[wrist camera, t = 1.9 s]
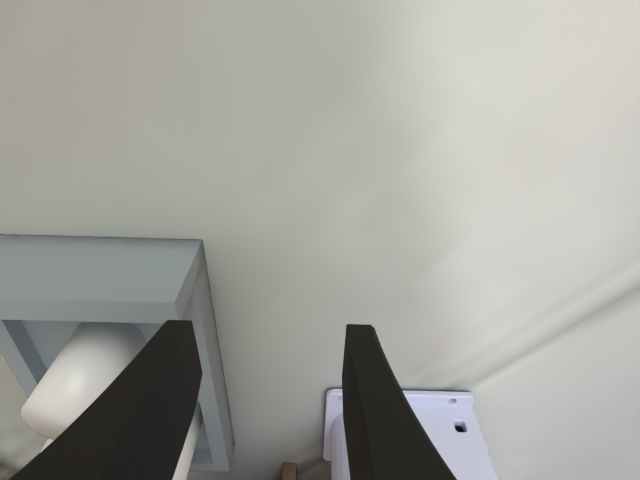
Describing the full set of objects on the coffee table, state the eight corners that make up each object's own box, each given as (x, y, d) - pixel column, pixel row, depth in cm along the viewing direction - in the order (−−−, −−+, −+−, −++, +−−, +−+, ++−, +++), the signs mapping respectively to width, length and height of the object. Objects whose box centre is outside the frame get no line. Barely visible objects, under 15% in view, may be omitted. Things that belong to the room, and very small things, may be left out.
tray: (202, 239, 20) (162, 330, 15) (234, 443, 30) (217, 538, 25) (-24, 233, 20) (-139, 322, 15) (83, 440, 30) (36, 534, 25)
